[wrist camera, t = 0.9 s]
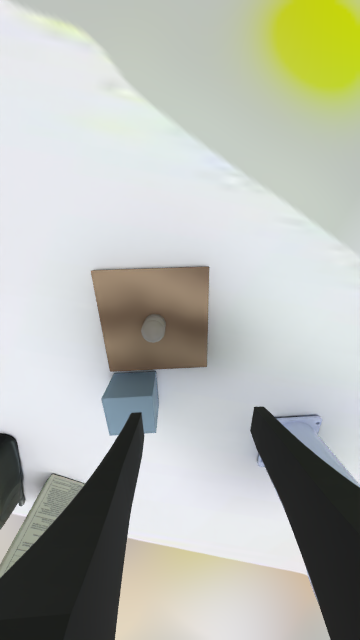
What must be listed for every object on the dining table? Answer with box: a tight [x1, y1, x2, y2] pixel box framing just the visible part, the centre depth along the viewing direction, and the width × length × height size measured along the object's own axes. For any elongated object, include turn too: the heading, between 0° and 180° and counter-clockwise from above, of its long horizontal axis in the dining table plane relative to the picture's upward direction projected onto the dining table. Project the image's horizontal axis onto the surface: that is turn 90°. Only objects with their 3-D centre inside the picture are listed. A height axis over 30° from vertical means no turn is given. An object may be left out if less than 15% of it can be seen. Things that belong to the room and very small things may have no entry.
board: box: [91, 267, 209, 372], centre depth 17 cm, size 11×11×4 cm
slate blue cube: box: [102, 371, 159, 435], centre depth 20 cm, size 5×5×4 cm
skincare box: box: [0, 474, 85, 578], centre depth 21 cm, size 6×4×12 cm
